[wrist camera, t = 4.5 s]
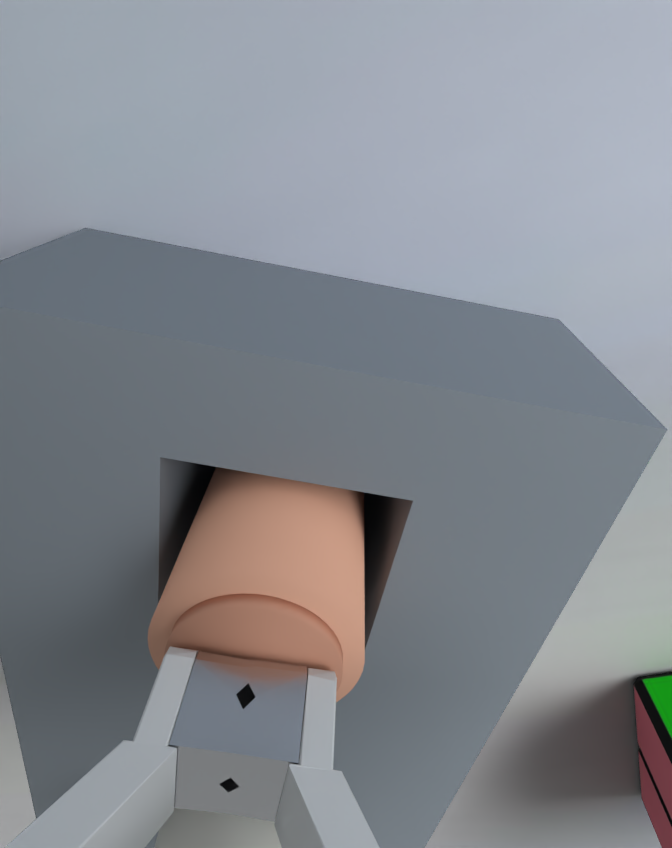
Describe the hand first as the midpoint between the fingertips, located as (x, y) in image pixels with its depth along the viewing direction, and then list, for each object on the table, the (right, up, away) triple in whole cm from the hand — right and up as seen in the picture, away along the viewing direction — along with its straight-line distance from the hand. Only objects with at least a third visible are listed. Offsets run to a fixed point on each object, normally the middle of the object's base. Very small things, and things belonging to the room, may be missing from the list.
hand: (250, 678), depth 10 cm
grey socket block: (0, 0, +10) cm, 10 cm away
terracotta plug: (0, +4, +6) cm, 7 cm away
